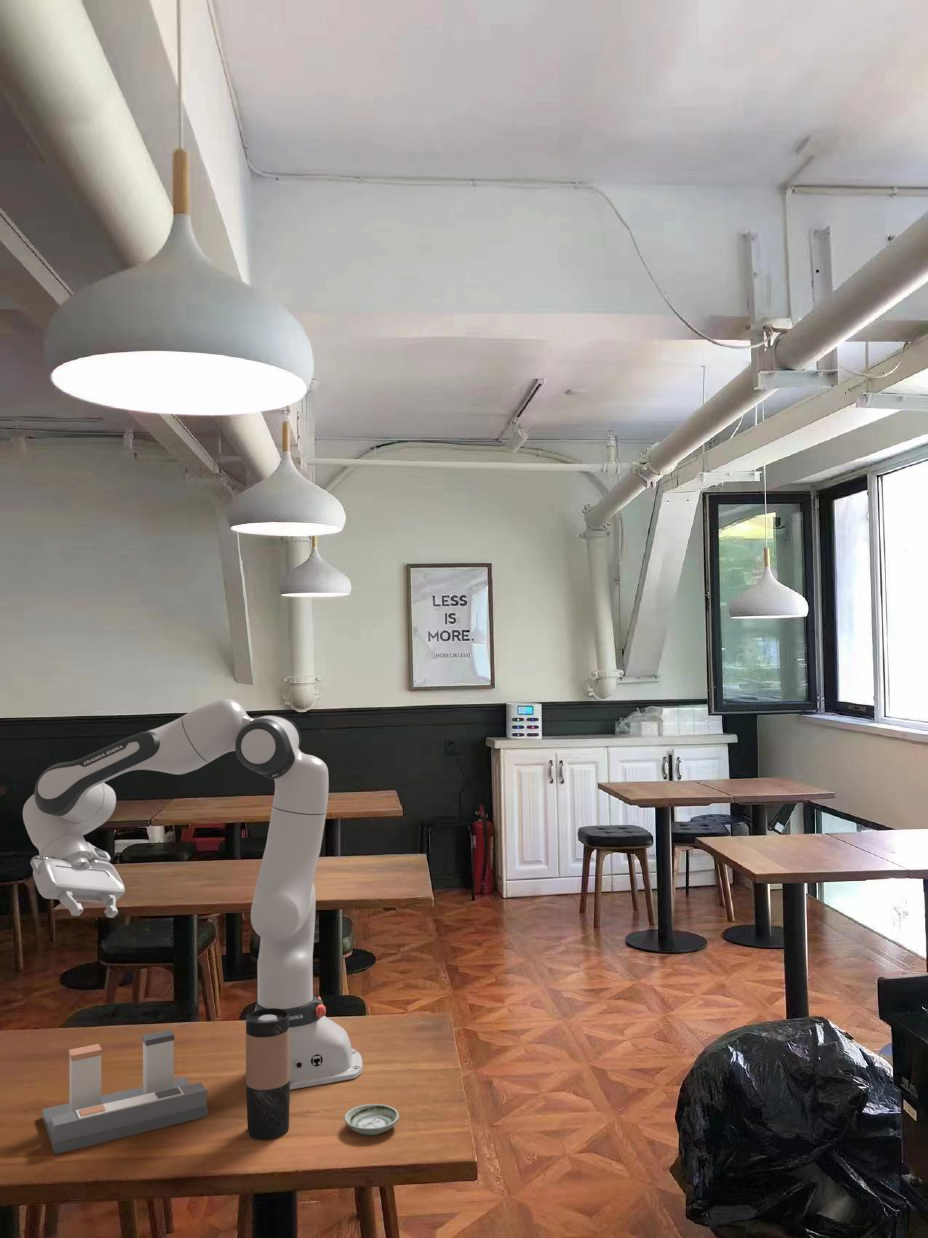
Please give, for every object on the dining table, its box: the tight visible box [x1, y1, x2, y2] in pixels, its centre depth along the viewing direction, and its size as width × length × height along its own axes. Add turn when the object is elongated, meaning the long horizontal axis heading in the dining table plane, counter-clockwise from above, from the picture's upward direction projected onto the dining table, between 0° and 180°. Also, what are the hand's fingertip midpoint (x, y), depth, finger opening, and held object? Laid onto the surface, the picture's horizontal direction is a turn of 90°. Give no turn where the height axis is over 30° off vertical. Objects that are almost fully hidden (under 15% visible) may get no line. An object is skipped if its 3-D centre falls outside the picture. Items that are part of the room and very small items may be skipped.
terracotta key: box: [68, 1043, 103, 1112], centre depth 179 cm, size 3×5×11 cm, turn 120°
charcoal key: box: [141, 1029, 175, 1095], centre depth 185 cm, size 3×5×11 cm, turn 120°
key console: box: [41, 1076, 209, 1155], centre depth 180 cm, size 26×16×5 cm, turn 120°
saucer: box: [343, 1103, 400, 1136], centre depth 174 cm, size 10×10×2 cm
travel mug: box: [245, 1008, 291, 1141], centre depth 174 cm, size 8×8×20 cm
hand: (96, 914), depth 190 cm, fingers open, 8 cm apart
